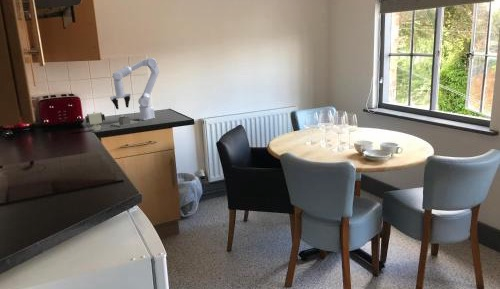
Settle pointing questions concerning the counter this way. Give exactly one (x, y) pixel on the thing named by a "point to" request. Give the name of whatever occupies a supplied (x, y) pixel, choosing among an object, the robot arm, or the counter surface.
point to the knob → (124, 119)
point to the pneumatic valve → (95, 120)
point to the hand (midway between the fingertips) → (122, 108)
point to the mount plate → (125, 124)
